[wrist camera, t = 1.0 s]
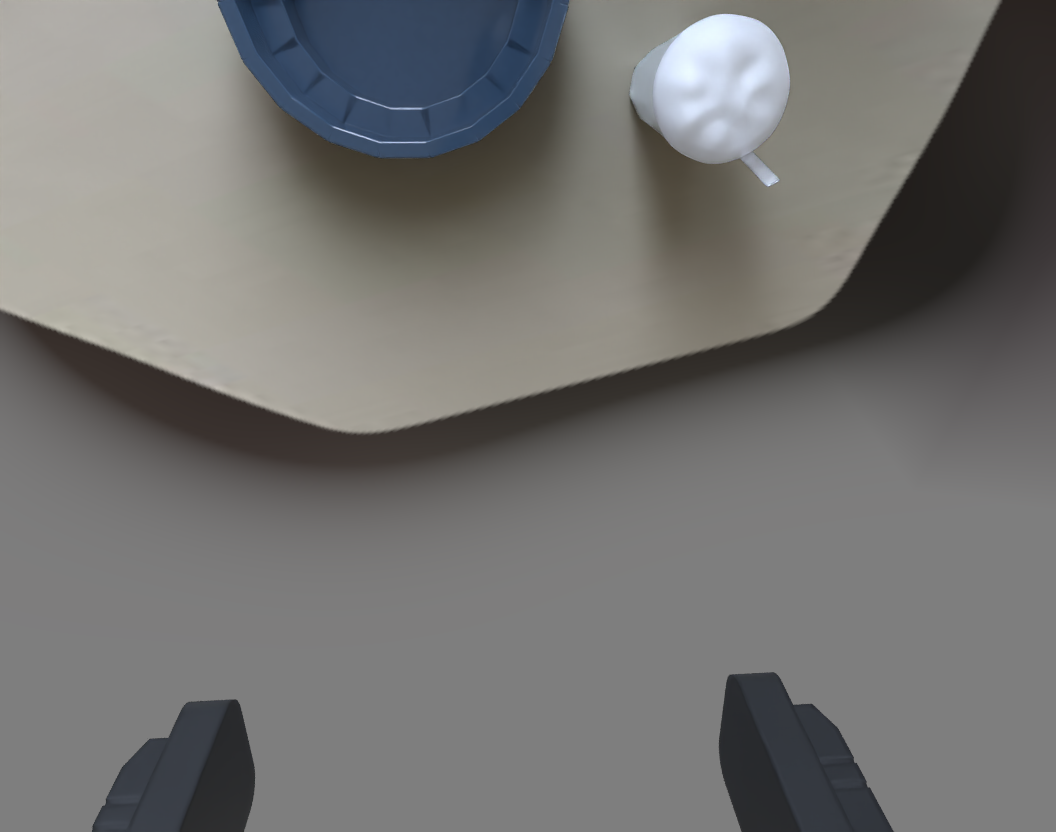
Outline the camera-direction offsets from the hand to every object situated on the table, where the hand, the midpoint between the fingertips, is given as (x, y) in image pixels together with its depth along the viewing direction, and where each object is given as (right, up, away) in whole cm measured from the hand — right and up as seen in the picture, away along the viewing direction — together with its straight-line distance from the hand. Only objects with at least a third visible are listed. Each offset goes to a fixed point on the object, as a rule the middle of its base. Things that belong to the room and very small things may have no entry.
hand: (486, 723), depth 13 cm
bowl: (-4, +22, +18) cm, 29 cm away
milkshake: (+7, +19, +20) cm, 28 cm away
